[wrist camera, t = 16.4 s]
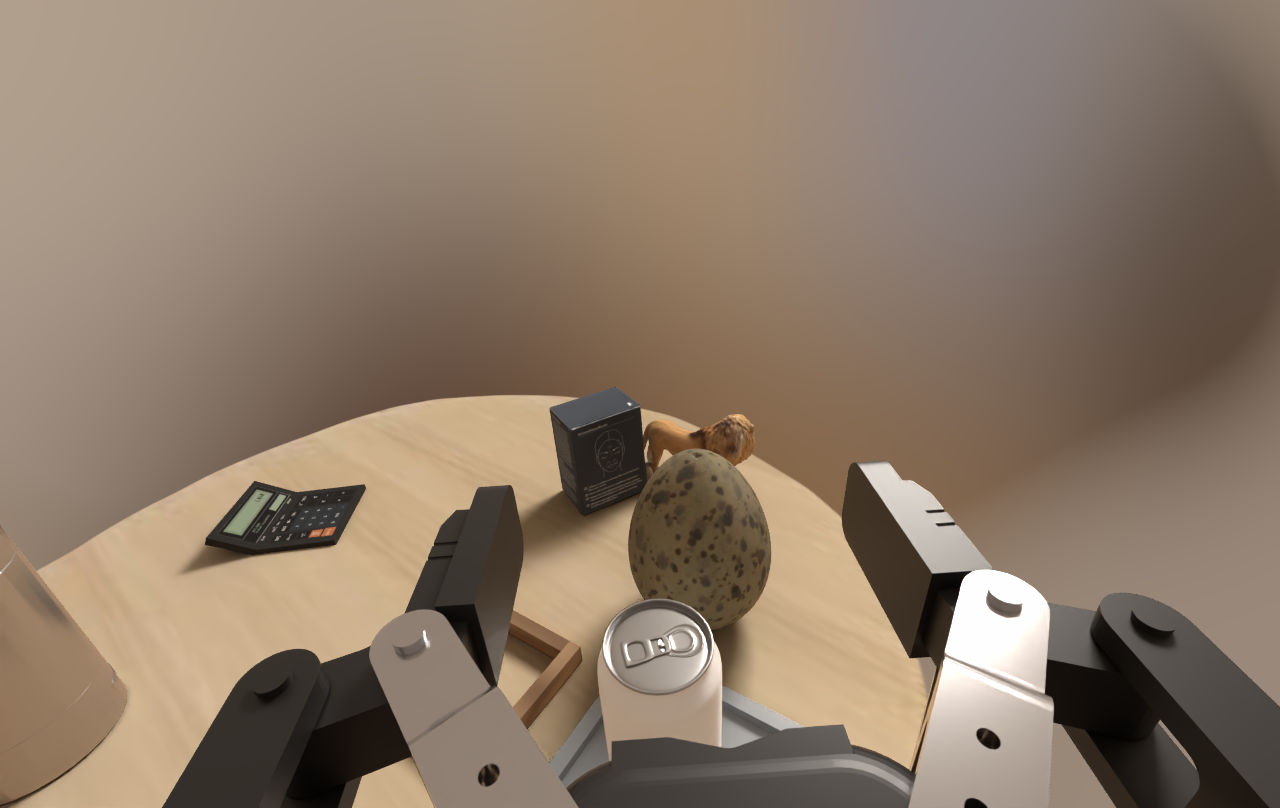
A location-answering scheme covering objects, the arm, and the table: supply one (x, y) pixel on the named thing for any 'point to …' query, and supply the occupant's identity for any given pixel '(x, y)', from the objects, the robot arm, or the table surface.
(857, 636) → the table surface
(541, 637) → the frame
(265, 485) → the calculator
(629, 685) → the can
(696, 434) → the lion figurine
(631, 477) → the box
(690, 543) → the decorative egg
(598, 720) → the tray
